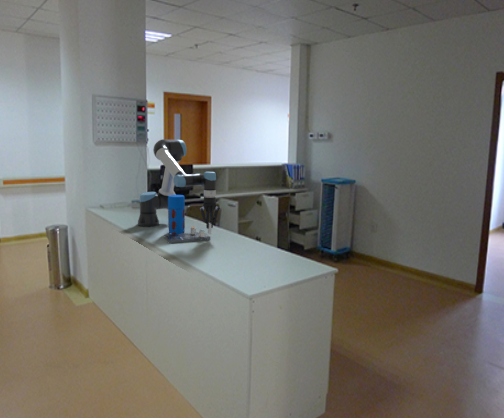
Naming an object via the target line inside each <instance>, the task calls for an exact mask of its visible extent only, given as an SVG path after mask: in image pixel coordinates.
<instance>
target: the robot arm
mask: <svg viewBox="0 0 504 418" xmlns="http://www.w3.org/2000/svg"><path fill="white" fill-rule="evenodd" d="M152 150H153V155H154V157H155V158H156V159H157V160H158V161H160V162H161V163H162V164H163V166H164V167H165V168H164V173H163V179H162V184H161V188H160V189H159V190H158V193H157V192H156V191H147V192H146V191H145V192H143V193H141V194H140V195H139V200H138V201H139V216H138V219H137V225H138V226H139V227H156V226H159V225H160V220H159V218H158V214H157V210H165V209H167V210H168V196H169V195H177V194H176V192H175V191H174V188H175V187H177V188H178V187H179V188H185V187H199V186H200V187H201V186H202V187H203V205H202V207H199V210H200V212H201V217H202V222H203V223H205V226H206V229H207V233H208V235H211V234H212V229H213V228H214V227H213V226H214V223H216V222H217V218H218V213H219V211H220V209H221V208H220V207H219V206H217V203H216V202H217V201H216V200H217V197H216V196H217V195H216V194H217V190H216V189H217V174H216V172H215V171H205V172H203V173H199V172H198V173H195V174H194V173H191V174H189V173H188V174H187V173H186V172H185V171H184V170H183V168H182V167H181V166H180V164H179V162H181V161H182V160H183V159H182V158H183V157H186V155H187V152H188V151H187V150H188V149H187V145H186V143H185V141H184V140H182V139H160V140H158V141H156V143H155V144H154V145H153V149H152ZM205 212H206V213H205Z"/></svg>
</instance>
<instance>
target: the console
mask: <svg viewBox="0 0 504 418" xmlns="http://www.w3.org/2000/svg"><path fill="white" fill-rule="evenodd" d="M163 237H164V239H165V241H167V243H168V244H179V243H180V244H182V243H191V242H205V241H211V236H210V234H207V233H206V232H205V237H200V236H199V231H198V232H197V231H196V234H191V232H188V233H185V232H184V233H183V234H164V235H163Z"/></svg>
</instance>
